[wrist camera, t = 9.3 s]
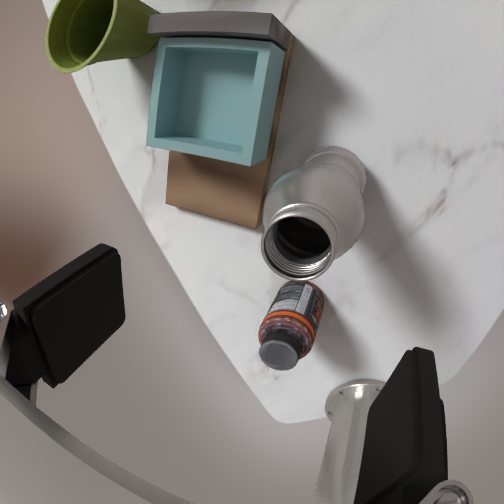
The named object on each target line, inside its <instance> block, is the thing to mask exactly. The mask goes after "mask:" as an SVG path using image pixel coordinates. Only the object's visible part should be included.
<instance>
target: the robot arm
mask: <svg viewBox="0 0 504 504" xmlns="http://www.w3.org/2000/svg"><path fill="white" fill-rule="evenodd" d="M13 304H14V308H15V309H14V310H13V311H11V308H10V306H9V304H8V303H7V302H5V301H2V300H0V504H194V503H191V502H189V501H187V500H185V499H182V498H180V497H178V496H176V495H174V494H172V493H169V492H167V491H165V490H163V489H161V488H159V487H157V486H155V485H153V484H151V483H149V482H147V481H146V480H144V479H142V478H140V477H138V476H136V475H135V474H133V473H131V472H129V471H128V470H126V469H124V468H122V467H121V466H119V465H117V464H116V463H114V462H112V461H111V460H109V459H108V458H106V457H104V456H103V455H101V454H100V453H98V452H97V451H95V450H93V449H92V448H91V447H89V446H88V445H86V444H85V443H83V442H82V441H80V440H79V439H77V438H76V437H75V436H73V435H72V434H71V433H69V432H68V431H66V430H65V429H64V428H62V427H61V426H60V425H58V424H57V423H56V422H55V421H53V420H52V419H51V418H49V417H48V416H47V415H46V414H44V413H43V412H42V411H41V410H40V409H38V408H37V407H36V398H37V385H38V380H39V379H40V378H41V377H42V379H43V381H44V382H46V383H47V384H48V385H49V386H51V387H52V388H55V387H56V386H57V385H58V384H59V383H63V382H64V381H66V380H67V379H68V377H69V376H71V374H73V373H74V372H75V371H76V370H77V368H78V367H80V366H81V365H82V364H83V362H85V361H86V359H88V358H89V357H90V356H91V355H92V353H94V352H95V351H96V350H97V349H98V348H99V347H100V346H101V345H102V344H103V343H104V342H105V341H106V340H107V339H108V338H109V337H110V336H111V335H112V334H113V333H114V332H115V331H116V330H117V329H119V328H120V327H121V326H122V324H123V323H124V321H125V307H124V297H123V285H122V272H121V258H120V255H119V254H118V251H117V249H115V248H114V247H111V246H108V245H106V244H102V243H101V244H98V245H97V246H95V247H94V248H92V249H90V250H89V251H87V252H86V253H84V254H82V255H81V256H79V257H77V258H76V259H74V260H73V261H71V262H70V263H68V264H67V265H65V266H63V267H62V268H60V269H59V270H57V271H56V272H54V273H53V274H51V275H50V276H48V277H47V278H45V279H44V280H42V281H41V282H39V283H38V284H37V285H35V286H33V287H32V288H30V289H29V290H28V291H26V292H25V293H23V294H22V295H21V296H19V297H18V298H16V299H15V300H13ZM325 412H326V415H327V417H328V418H329V419H330V421H332V422H331V427H330V431H329V435H328V440H327V444H326V448H325V452H324V456H323V460H322V464H321V468H320V471H319V475H318V479H317V483H316V486H315V490H314V494H313V504H473V498H472V495H471V492H470V491H469V489H468V488H467V487H466V486H465V485H464V484H463V483H461V482H459V481H456V480H448V467H447V466H448V464H447V463H448V462H447V439H446V424H445V413H444V405H443V401H442V400H441V399H440V395H439V386H438V378H437V371H436V364H435V357H434V353H433V351H431V350H427V349H423V348H419V347H414V348H413V349H412V351H411V350H407V351H406V352H405V354H404V355H403V357H402V359H401V360H400V362H399V363H398V365H397V367H396V368H395V370H394V371H393V373H392V375H391V376H390V378H389V379H388V381H387V382H386V383H383V382H380V381H374V380H358V381H353V382H348V383H346V384H343V385H341V386H339V387H337V388H336V389H334V390H333V391H332V392H331V393H330V394H329V396H328V398H327V400H326V404H325Z"/></svg>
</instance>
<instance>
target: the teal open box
mask: <svg viewBox="0 0 504 504" xmlns="http://www.w3.org/2000/svg"><path fill="white" fill-rule="evenodd" d="M284 56H285V52H284V51H283V50H282V49H280V48H279V47H278V46H276V45H275V44H273V43H272V42H266V41H256V40H244V39H228V38H159V42H158V48H157V54H156V61H155V68H154V75H153V82H152V90H151V99H150V108H149V118H148V128H147V140H146V146H149V147H155V148H161V149H167V150H172V151H178V152H183V153H188V154H194V155H199V156H204V157H209V158H214V159H218V160H223V161H228V162H232V163H237V164H242V165H246V166H252V165H254V164H256V163H258V162H260V161H263V160H265V159H266V157H267V151H268V145H269V140H270V134H271V128H272V123H273V117H274V112H275V106H276V100H277V95H278V89H279V84H280V78H281V73H282V67H283V61H284Z"/></svg>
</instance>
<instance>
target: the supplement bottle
mask: <svg viewBox="0 0 504 504" xmlns="http://www.w3.org/2000/svg"><path fill="white" fill-rule="evenodd" d="M323 304H324V300H323V295H322V293H321V291H320V290H319V288H318V287H317V286H315V285H314V284H313V283H311V282H309V281H293V280H291V281H289V282H287V283H285V284H284V285H283V286H282V287H281V288H280V290H279V291H278V293H277V295H276V297H275V299H274V301H273V303H272V305H271V307H270V309H269V310H268V312H267V314H266V316H265V318H264V320H263V322H262V324H261V326H260V329H259V334H258V336H259V342H260V344H261V347H260V349H259V355H260V358H261V360H262V361H263V362H264V363H265V364H266V365H267V366H269V367H270V368H273V369H275V370H289V369H292V368H293V367H294V366H295V365H296V364H297V362H298V360H299V359H301V358H303V357H305V356H306V355H307V354H308V353H309V352H310V350H311V348H312V346H313V343H314V340H315V336H316V333H317V328H318V325H319V321H320V318H321V314H322V310H323Z"/></svg>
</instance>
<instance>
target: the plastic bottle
mask: <svg viewBox="0 0 504 504" xmlns="http://www.w3.org/2000/svg"><path fill="white" fill-rule="evenodd" d="M365 187H366V171H365V168H364V166H363V164H362V162H361V161H360V159H359V158H358V157H357V156H356V155H355V154H354V153H352V152H351V151H349V150H347V149H344V148H342V147H337V146H328V147H323V148H320V149H318V150H316V151H314V152H313V153H311V154H310V155H309V156H308V157H307V158H306V159H305V161H304V162H303V164H302V167H299V168H296V169H294V170H292V171H289V172H287V173H286V174H284V175H283V176H281V177H280V178H279V179H278V180H277V181H276V182H275V183H274V184H273V185H272V187H271V188H270V190H269V191H268V193H267V196H266V199H265V201H264V208H263V225H264V228H265V230H264V233H263V235H262V240H261V251H262V255H263V258H264V260H265V262H266V263H267V265H268V266H269V267H270V269H272V270H273V271H274V272H275V273H276V274H278V275H279V276H281V277H283V278H286V279H289V280H293V281H308V280H312V279H315V278H317V277H319V276H320V275H322V274H323V273H324V272H326V270H327V269H328V268H329V267H330V265H331V264H332V262H333V260H335V259H337V258H339V257H341V256H342V255H343V254H344V253H346V252H347V251H348V250H349V249H351V248H352V247H353V245H354V244H355V243H356V242H357V240H358V239H359V237H360V235H361V233H362V230H363V226H364V221H365V211H364V205H363V200H362V197H361V196H362V194H363V192H364V190H365Z"/></svg>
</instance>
